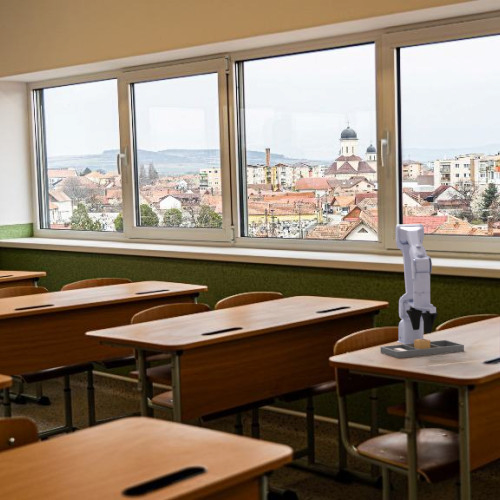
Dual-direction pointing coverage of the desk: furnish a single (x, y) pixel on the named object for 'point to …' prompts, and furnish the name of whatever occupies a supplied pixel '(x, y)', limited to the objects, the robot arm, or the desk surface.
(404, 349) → the eraser
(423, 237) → the robot arm
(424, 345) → the letter cube
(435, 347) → the organizer
